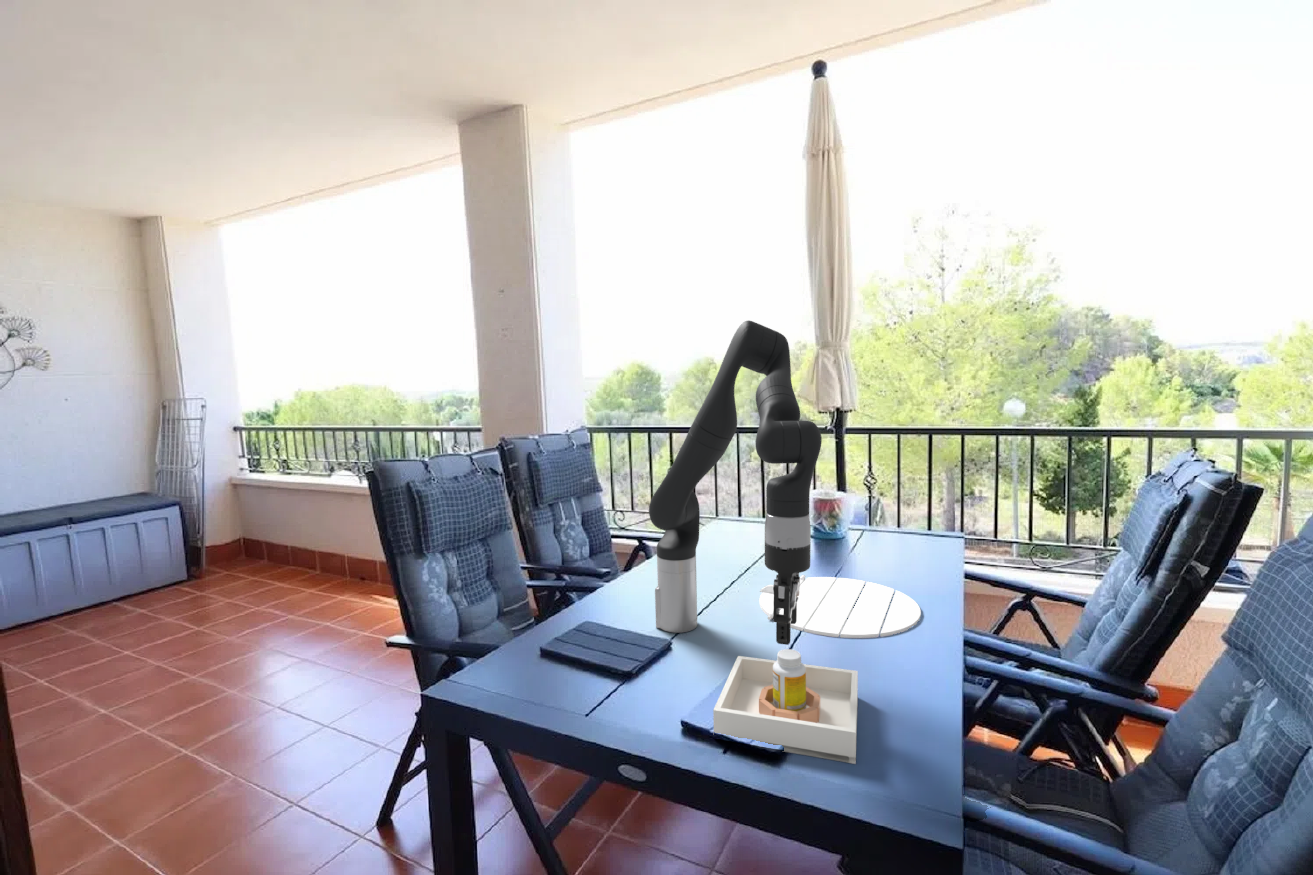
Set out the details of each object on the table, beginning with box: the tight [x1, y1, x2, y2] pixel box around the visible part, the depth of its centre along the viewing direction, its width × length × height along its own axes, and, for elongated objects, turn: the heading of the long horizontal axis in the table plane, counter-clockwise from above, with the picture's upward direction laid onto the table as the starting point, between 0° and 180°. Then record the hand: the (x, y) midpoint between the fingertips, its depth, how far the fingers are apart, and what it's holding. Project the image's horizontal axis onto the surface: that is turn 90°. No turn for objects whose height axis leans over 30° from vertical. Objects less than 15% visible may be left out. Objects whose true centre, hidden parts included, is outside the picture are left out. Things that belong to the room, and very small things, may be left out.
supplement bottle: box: [773, 648, 806, 711], centre depth 104 cm, size 6×6×10 cm
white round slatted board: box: [758, 574, 922, 639], centre depth 154 cm, size 40×39×3 cm
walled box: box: [712, 655, 859, 765], centre depth 104 cm, size 22×20×5 cm
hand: (786, 632), depth 103 cm, fingers open, 8 cm apart
